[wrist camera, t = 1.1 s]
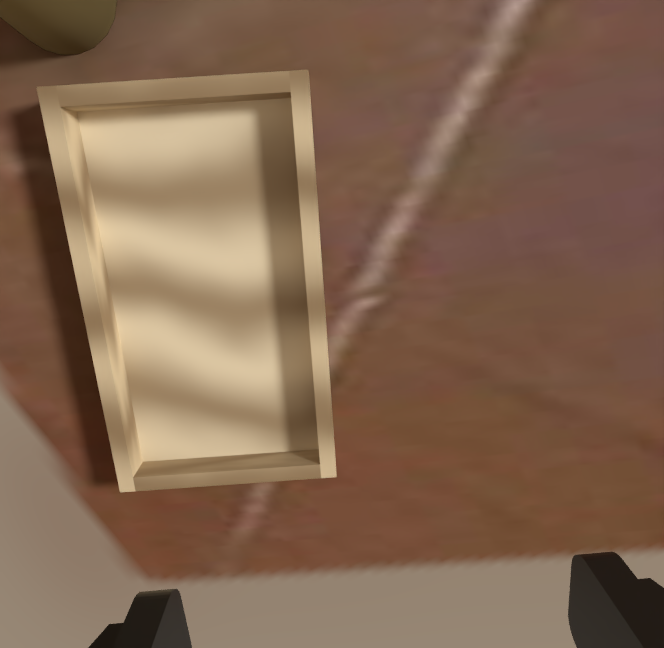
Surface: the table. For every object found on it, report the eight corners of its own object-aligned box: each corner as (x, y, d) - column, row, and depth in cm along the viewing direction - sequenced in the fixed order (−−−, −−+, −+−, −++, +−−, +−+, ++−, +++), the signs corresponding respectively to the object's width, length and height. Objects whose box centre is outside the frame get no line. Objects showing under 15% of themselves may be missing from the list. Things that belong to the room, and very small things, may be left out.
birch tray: (60, 95, 28) (36, 87, 26) (309, 79, 28) (308, 69, 26) (133, 470, 35) (120, 492, 32) (335, 456, 35) (336, 477, 32)
